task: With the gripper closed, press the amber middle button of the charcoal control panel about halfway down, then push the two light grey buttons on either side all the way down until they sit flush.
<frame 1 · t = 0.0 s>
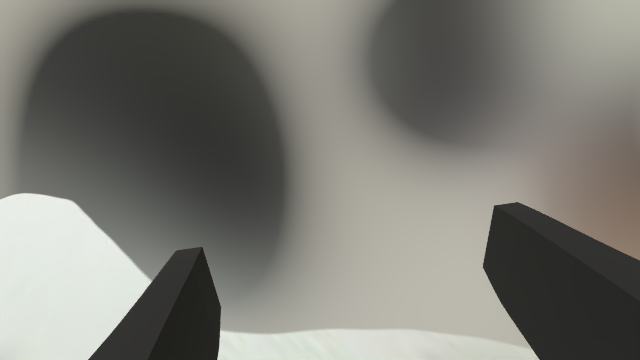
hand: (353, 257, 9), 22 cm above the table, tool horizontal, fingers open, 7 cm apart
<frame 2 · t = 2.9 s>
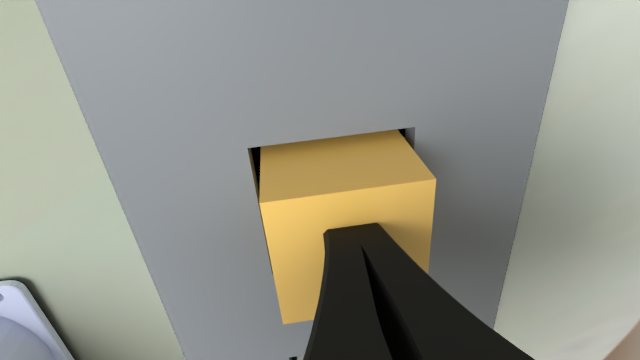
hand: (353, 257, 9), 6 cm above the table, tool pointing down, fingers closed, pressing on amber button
amber button: (340, 217, 11), point 5 cm above the table, slide at 0.2 cm, touching gripper
panel: (320, 150, 15), on the table
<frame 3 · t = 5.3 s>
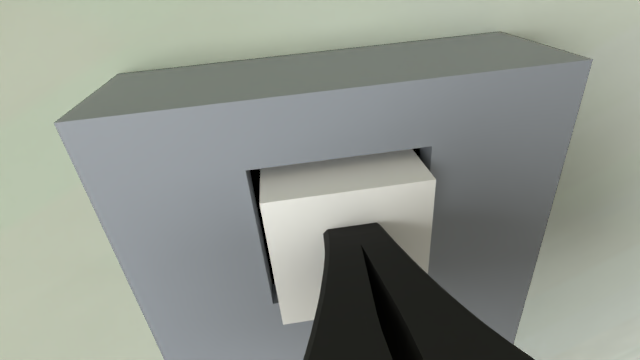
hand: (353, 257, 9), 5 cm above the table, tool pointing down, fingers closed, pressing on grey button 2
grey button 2: (340, 218, 11), point 3 cm above the table, slide at 1.5 cm, touching gripper
panel: (338, 328, 18), on the table
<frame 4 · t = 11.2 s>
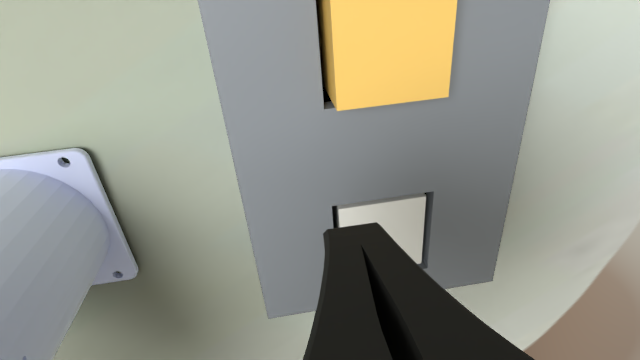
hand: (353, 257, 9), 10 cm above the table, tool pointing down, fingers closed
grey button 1: (373, 216, 19), point 2 cm above the table, slide at 2.6 cm
amber button: (379, 35, 14), point 3 cm above the table, slide at 1.3 cm
panel: (358, 22, 17), on the table
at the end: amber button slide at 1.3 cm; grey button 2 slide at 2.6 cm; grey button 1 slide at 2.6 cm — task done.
